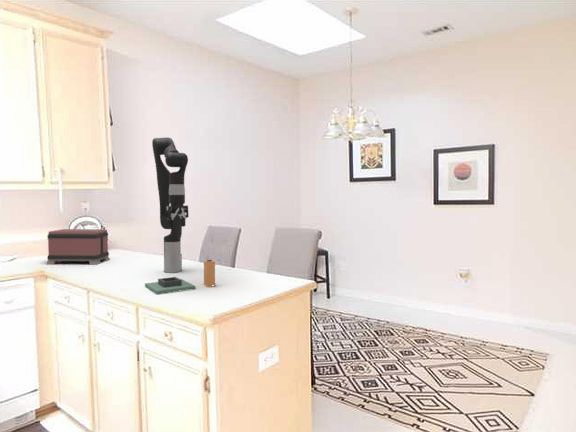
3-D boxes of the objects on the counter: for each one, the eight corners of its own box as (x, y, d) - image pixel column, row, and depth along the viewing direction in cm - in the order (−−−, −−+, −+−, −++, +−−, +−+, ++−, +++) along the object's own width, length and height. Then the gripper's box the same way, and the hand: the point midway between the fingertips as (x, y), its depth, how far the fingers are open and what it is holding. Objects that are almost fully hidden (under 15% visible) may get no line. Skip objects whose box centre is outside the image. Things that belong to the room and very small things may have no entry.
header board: (181, 282, 202) (181, 274, 202) (195, 289, 187) (195, 280, 187) (144, 286, 192) (144, 278, 191) (156, 294, 177) (156, 285, 177)
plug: (211, 284, 197) (211, 258, 197) (215, 285, 194) (214, 260, 193) (203, 285, 195) (203, 259, 194) (207, 287, 192) (207, 260, 191)
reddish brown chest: (58, 259, 267) (58, 228, 266) (110, 260, 267) (109, 229, 266) (41, 264, 248) (40, 231, 246) (96, 265, 248) (96, 232, 247)
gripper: (180, 193, 203) (180, 225, 204) (160, 193, 190) (161, 227, 191) (192, 194, 200) (192, 226, 201) (173, 194, 187) (173, 228, 188)
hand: (177, 227), depth 196 cm, fingers open, 8 cm apart
